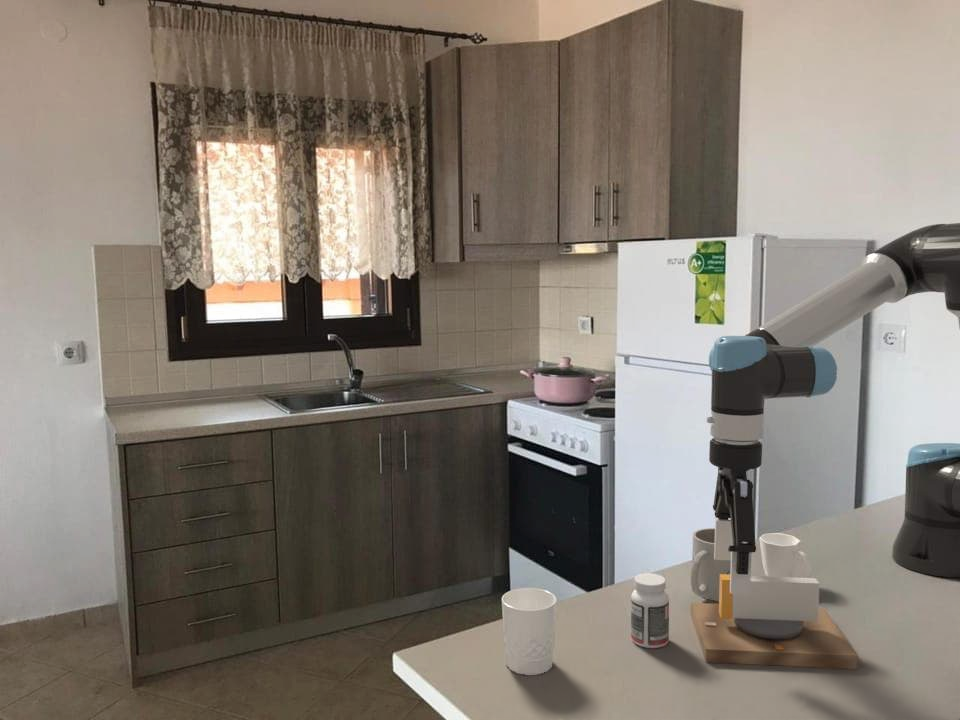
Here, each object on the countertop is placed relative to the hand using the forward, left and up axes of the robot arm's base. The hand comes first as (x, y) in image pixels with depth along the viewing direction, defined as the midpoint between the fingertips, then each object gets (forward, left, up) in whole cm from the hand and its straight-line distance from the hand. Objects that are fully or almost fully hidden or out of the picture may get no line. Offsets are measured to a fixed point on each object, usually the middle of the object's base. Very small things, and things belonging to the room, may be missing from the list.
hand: (730, 575), depth 123 cm
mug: (0, -17, -10) cm, 20 cm away
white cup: (+30, +11, -10) cm, 34 cm away
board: (-6, 0, -10) cm, 12 cm away
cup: (-14, -22, -10) cm, 28 cm away
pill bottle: (+12, +2, -10) cm, 16 cm away
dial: (-6, 0, -8) cm, 9 cm away
